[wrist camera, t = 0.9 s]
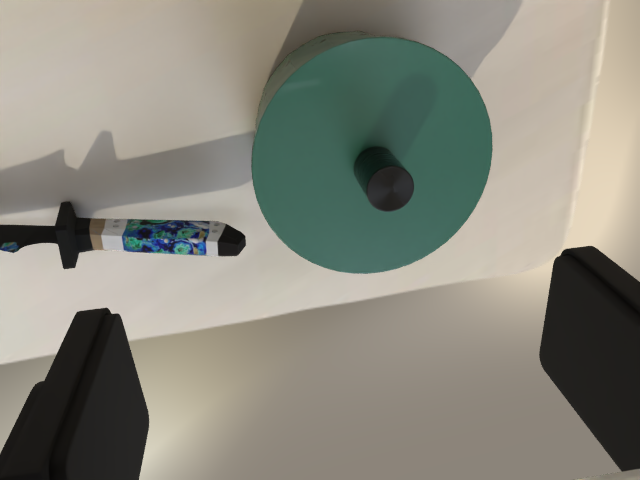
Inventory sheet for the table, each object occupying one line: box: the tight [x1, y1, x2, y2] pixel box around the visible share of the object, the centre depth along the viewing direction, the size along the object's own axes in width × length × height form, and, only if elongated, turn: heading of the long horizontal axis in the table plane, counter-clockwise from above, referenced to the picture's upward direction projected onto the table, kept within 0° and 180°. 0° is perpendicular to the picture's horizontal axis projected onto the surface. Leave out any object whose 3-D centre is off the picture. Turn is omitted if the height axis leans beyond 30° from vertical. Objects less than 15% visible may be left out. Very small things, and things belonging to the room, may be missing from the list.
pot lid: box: [251, 36, 492, 274], centre depth 28 cm, size 13×13×5 cm
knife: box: [0, 202, 246, 269], centre depth 35 cm, size 31×3×4 cm, turn 85°
